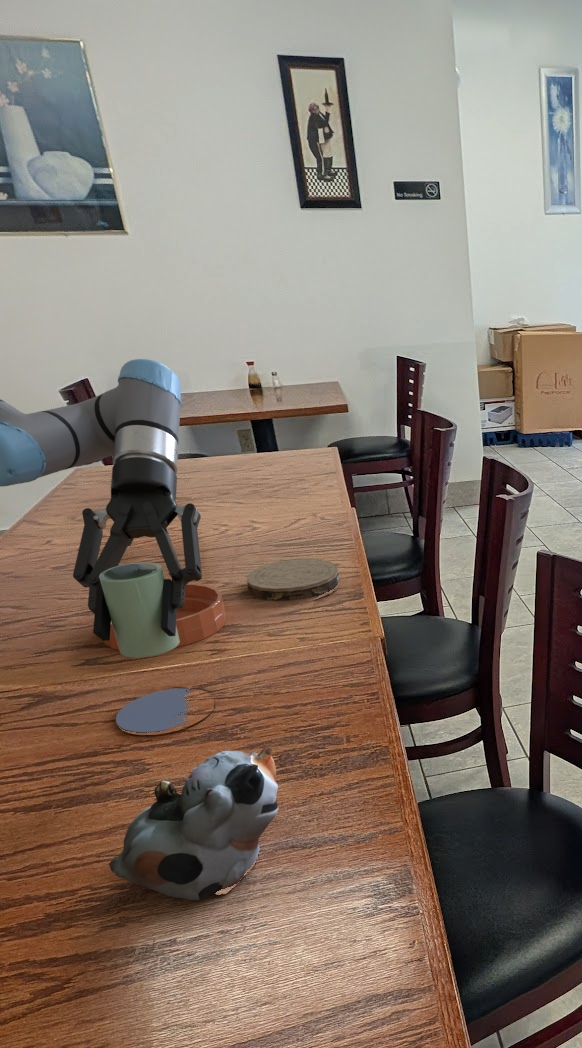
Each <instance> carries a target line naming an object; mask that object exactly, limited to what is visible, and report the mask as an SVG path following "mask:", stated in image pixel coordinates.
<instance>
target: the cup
mask: <svg viewBox="0 0 582 1048" xmlns="http://www.w3.org/2000/svg"><path fill="white" fill-rule="evenodd" d="M164 579H166V576H165V573H164V569H163V565H161V564H159V563H158V562H157V563H156V562H149V561H141V562H131V563H125V564H119V565H118V566H116V567H112V568H110V569H107V570H105V571H103V572H102V573H101V574H100V575H99V580H100V583H101V587H102V590H103V594H104V598H105V601H106V605H107V608H108V612H109V615H110V619H111V622H112V626H113V630H114V633H115V637H116V640H117V644H118V647H119V650H118V651H119V654H120V655H122V656H123V657H127V658H132V659H133V658H134V659H141V658H142V659H143V658H150V657H154V656H159V655H162V654H165V653H168V652H170V651H172V650H174V649H175V648H177V647H176V646H178V644H179V643H180V638H179V634H178V630H177V626H176V636H168V635H167V634H166V633H165V632H164V631H163V630H162V629H161V618H162V598H163V581H164Z"/></svg>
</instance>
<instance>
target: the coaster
mask: <svg viewBox="0 0 582 1048" xmlns="http://www.w3.org/2000/svg"><path fill="white" fill-rule="evenodd" d="M189 688H191V689H192V688H193V687H176V688H169V689H164V690H163V689H162V690H158V691H154V692H151V693H147V694H146V695H143V696H140V697H137V698H136V699H134V700H132V701H130V702H129V703H127V704H125V705H124V706H123V707H122V708H121V709H119V711H118V712H117V714H116V716H115V724H116V726H117V725H118V727H120V728H121V729H123V730H125V731H130V732H136V733H147V732H148V733H149V732H150V733H151V732H160V731H164V730H168V729H170V728H173V727H179V725H180V724H182V726H183V723H186V722H189V721H190V720H189V721H188V720H187V719H188V718H187V717H188V716H189V715H188V716H186V717H185V716H184V715H185V714H186V711H187V710H188V708H189V706H186V705H189V704H190V703H189V704H186V702H187V699H186V701H184V700H185V698H186V696H185V693H186V695H188V694H189V693H188V692H189V691H190V690H189ZM186 690H187V691H188V692H186ZM196 691H197V690H196ZM190 693H191V691H190ZM179 695H180V696H179ZM184 696H185V698H184ZM189 696H190V695H189ZM187 698H189V697H187ZM190 699H191V698H190ZM179 701H180V702H179ZM181 701H182V702H181ZM188 701H189V700H188ZM187 703H188V702H187ZM184 704H185V705H184ZM198 705H199V704H198ZM185 706H186V707H185ZM190 706H191V705H190ZM187 707H188V708H187ZM190 708H191V707H190ZM185 709H187V710H185ZM184 710H185V712H184ZM189 710H190V709H189ZM180 712H181V713H180ZM182 712H183V713H182ZM187 712H188V711H187ZM189 712H190V711H189ZM184 713H185V714H184ZM178 714H179V715H178ZM180 714H181V715H180ZM174 715H175V716H174ZM186 715H187V714H186ZM181 716H182V717H181ZM183 716H184V717H183ZM190 716H191V715H190ZM177 717H178V718H177ZM179 717H180V718H179ZM183 718H187V719H185V720H187V721H185V722H184V719H183ZM177 719H178V720H177ZM182 719H183V720H182ZM169 720H170V721H169ZM171 720H172V721H171ZM193 720H194V719H193ZM180 721H181V722H180ZM182 721H183V722H182ZM176 722H177V723H176ZM178 722H179V723H178ZM178 724H179V725H178ZM172 725H173V726H172ZM174 725H175V726H174ZM184 725H185V724H184ZM166 726H167V727H166ZM168 726H169V727H168ZM180 726H181V725H180ZM118 727H117V728H118Z"/></svg>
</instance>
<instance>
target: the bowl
mask: <svg viewBox="0 0 582 1048" xmlns="http://www.w3.org/2000/svg"><path fill="white" fill-rule="evenodd" d="M227 618H228V617H227V612H226V608H225V602H224V598H223V594H222V593H221V591H220V590H219V588H216V587H214V586H211V585H208V584H201V583H187V585H186V587H185V605H184V607H183V608H179V609H177V614H176V626H177V630H178V634H179V638H180V643H179V644H178V646H176V647H175V648H179V647H183V646H187V645H191V644H193V643H196V642H199V641H202V640H204V639H206V638H209V637H210V636H212V635H215V634H216V633H217V632H219V631H220V630H221V629H222V628H223V627H224V626H225V625H226V622H227ZM103 644H104V645H105V646H107V647H109V648H111V649H113V650H117V651H119V647H118V644H117V640H116V637H115V633H114V630H113V626H112V622H111V628H110V640H108V641H103Z"/></svg>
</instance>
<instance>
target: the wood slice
mask: <svg viewBox="0 0 582 1048" xmlns="http://www.w3.org/2000/svg"><path fill="white" fill-rule="evenodd" d="M339 582H340V575H339V569H338V567H337V565H336V564H335V563H334V562H333V563H332V562H331V561H327V560H324V559H315V558H298V559H297V558H295V559H287V560H281V561H275V562H272V563H267V564H265V565H262V566H260V567H259V566H258V567H257V568H255V569H253V570H252V571H250V572H249V573H248V574H247V575H246V583H247V589H248V593H249V594H250V595H251V596H252V597H253V598H255V599H259V600H263V601H270V602H271V601H272V602H290V601H298V600H304V599H310V598H314V597H317V596H319V595H322V594H324V593H326V592H329V591H330V590H332V589H334V588H335V587H336V586H337V585H338V583H339ZM340 583H341V582H340Z"/></svg>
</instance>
